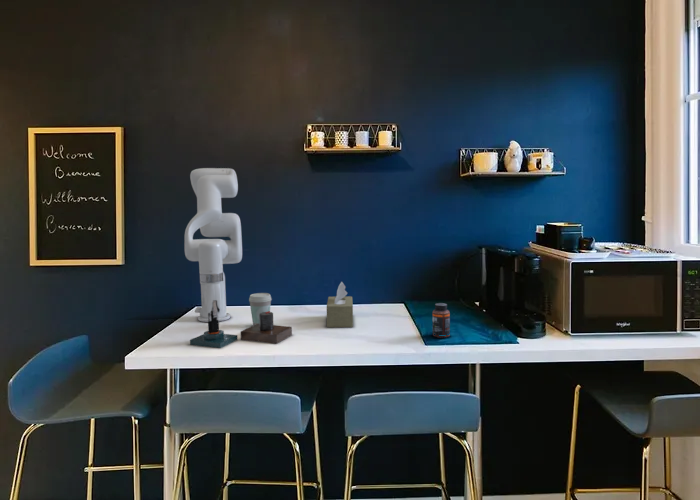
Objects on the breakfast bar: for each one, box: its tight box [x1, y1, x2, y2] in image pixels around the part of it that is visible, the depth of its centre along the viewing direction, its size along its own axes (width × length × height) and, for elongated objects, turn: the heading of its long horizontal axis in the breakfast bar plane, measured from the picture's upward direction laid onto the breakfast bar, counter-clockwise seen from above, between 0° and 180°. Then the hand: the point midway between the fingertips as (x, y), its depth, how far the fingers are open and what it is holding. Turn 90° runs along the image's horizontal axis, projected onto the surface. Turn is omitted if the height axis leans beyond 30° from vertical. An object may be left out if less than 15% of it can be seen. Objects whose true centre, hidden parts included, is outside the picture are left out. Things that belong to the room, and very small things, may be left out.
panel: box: [240, 324, 293, 344], centre depth 176 cm, size 14×11×3 cm
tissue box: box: [326, 281, 354, 328], centre depth 196 cm, size 19×10×16 cm, turn 0°
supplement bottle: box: [432, 302, 451, 339], centre depth 175 cm, size 6×6×11 cm
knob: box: [259, 310, 274, 331], centre depth 175 cm, size 5×5×6 cm
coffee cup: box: [248, 292, 273, 326], centre depth 191 cm, size 8×8×12 cm
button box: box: [189, 329, 238, 349], centre depth 170 cm, size 12×10×4 cm
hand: (213, 331), depth 170 cm, fingers closed
